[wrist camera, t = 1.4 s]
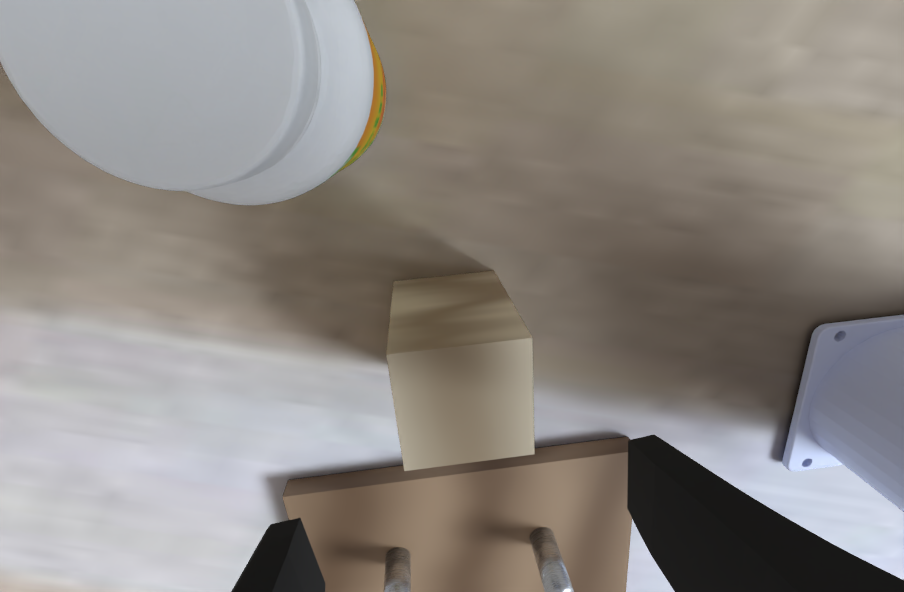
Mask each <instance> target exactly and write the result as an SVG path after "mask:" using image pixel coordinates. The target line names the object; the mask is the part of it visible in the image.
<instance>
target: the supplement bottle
mask: <svg viewBox="0 0 904 592" xmlns="http://www.w3.org/2000/svg"><path fill="white" fill-rule="evenodd" d="M0 62H1V64H2V66H3V69H4V70H5V72H6V74H7V76H8V78H9V80H10V81H11V83H12V85H13V86H14V88H15V90H16V91H17V93H18V95H19V96H20V98H21V99H22V100H23V101H24V103H25V104H26V105H27V106H28V108H29V109H30V110H31V111H32V113H33V114H34V115H35V116H36V118H37V119H38V120H39V121H40V122H41V123H42V124H43V125H44V126H45V127H46V128H47V129H48V130H49V131H50V133H51V134H52V135H54V136H55V137H56V138H57V139H58V140H59V141H60V142H62V143H63V144H64V145H65V146H67V147H68V148H69V149H70V150H72V151H73V152H74V153H76V154H77V155H78V156H80V157H81V158H82V159H84V160H85V161H87V162H89V163H91V164H93V165H94V166H96V167H97V168H99V169H101V170H103V171H105V172H107V173H109V174H111V175H114V176H116V177H118V178H121V179H123V180H126V181H128V182H132V183H135V184H139V185H142V186H146V187H150V188H156V189H162V190H170V191H186V192H189V193H191V194H194V195H197V196H200V197H203V198H206V199H209V200H214V201H218V202H223V203H229V204H235V205H263V204H271V203H276V202H280V201H284V200H288V199H291V198H294V197H297V196H299V195H302V194H304V193H306V192H308V191H310V190H312V189H313V188H315V187H317V186H319V185H320V184H322V183H324V182H325V181H326V180H328V179H329V178H330V177H332V176H333V175H335V174H336V173H338V172H339V171H341V170H342V169H344V168H345V167H347V166H348V165H350V164H352V163H353V162H354V161H356V160H357V159H358V158H359V157H360V156H361V155H362V154H363V153H364V152H365V151H366V150H367V149H368V148H369V146H370V145H371V144H372V142H373V141H374V139H375V137H376V136H377V134H378V132H379V130H380V127H381V124H382V122H383V118H384V114H385V108H386V82H385V76H384V71H383V67H382V64H381V61H380V58H379V55H378V53H377V51H376V48H375V46H374V44H373V42H372V40H371V38H370V35H369V33H368V31H367V29H366V26H365V24H364V21H363V19H362V17H361V14H360V12H359V10H358V7H357V5H356V3H355V2H354V0H0Z"/></svg>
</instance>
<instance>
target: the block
mask: <svg viewBox="0 0 904 592" xmlns="http://www.w3.org/2000/svg"><path fill="white" fill-rule="evenodd" d="M386 357H387V363H388V369H389V376H390V382H391V389H392V395H393V402H394V408H395V414H396V421H397V427H398V434H399V440H400V447H401V453H402V460H403V466H404V471H410V470H417V469H425V468H433V467H440V466H448V465H456V464H464V463H471V462H479V461H487V460H494V459H502V458H510V457H517V456H525V455H533V454H535V448H534V395H533V343H532V336H531V334H530V333H529V331H528V329H527V327H526V326H525V324H524V322H523V320H522V319H521V317H520V315H519V313H518V312H517V310H516V308H515V306H514V305H513V303H512V301H511V299H510V298H509V296H508V294H507V292H506V291H505V289H504V287H503V285H502V284H501V282H500V280H499V278H498V276H497V275H496V273H495V271H485V272H475V273H466V274H457V275H447V276H438V277H429V278H419V279H410V280H401V281H393V291H392V301H391V311H390V321H389V332H388V342H387V352H386Z"/></svg>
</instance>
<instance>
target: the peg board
mask: <svg viewBox="0 0 904 592" xmlns="http://www.w3.org/2000/svg"><path fill="white" fill-rule="evenodd" d="M629 440H630V439H629V437H620V438H613V439H605V440H597V441H589V442H581V443H574V444H566V445H558V446H550V447H542V448H535V454H533V455H525V456H517V457H510V458H502V459H494V460H487V461H479V462H471V463H464V464H456V465H448V466H440V467H433V468H425V469H417V470H410V471H404V466H403V465H402V466H394V467H387V468H379V469H371V470H363V471H355V472H348V473H340V474H332V475H324V476H317V477H309V478H301V479H293V480H288V482H287V485H286V488H285V491H284V494H283V501H284V504H285V508H286V511H287V515H288V518H289V520H292V519H296V518H301V521H302V523H303V526H304V528H305V531H306V534H307V536H308V539H309V542H310V544H311V547H312V549H313V552H314V555H315V557H316V560H317V562H318V565H319V568H320V570H321V573H322V576H323V578H324V581H325V592H626V582H627V570H628V559H629V547H630V535H631V524H632V517H631V515H630V513H629V511H628V509H627V489H628V441H629Z"/></svg>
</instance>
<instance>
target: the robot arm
mask: <svg viewBox="0 0 904 592" xmlns="http://www.w3.org/2000/svg"><path fill="white" fill-rule="evenodd" d="M836 333H837V334H836ZM782 463H783V465H784V466H785V467H786V468H787V469H788V470H790V471H801V470H809V469H816V468H823V467H831V466H838V465H845V466H846V467H847V468H849V469H850V470H851V471H852V472H854V473H855V474H856V475H858V476H859V477H860V478H861V479H863V480H864V481H865V482H866V483H868V484H869V485H870V486H871V487H873V488H874V489H875V490H877V491H878V492H879V493H880V494H882V495H883V496H884V497H885V498H887V499H888V500H889V501H891V502H892V503H893V504H894V505H896V506H897V507H898V508H899V509H901V510H902V511H903V512H904V315H896V316H887V317H879V318H870V319H862V320H853V321H845V322H836V323H828V324H823V325H820V326H818V327H817V328H816V329H815V330H814V331H813V333H812V337H811V341H810V345H809V349H808V354H807V358H806V362H805V366H804V371H803V375H802V379H801V384H800V388H799V392H798V396H797V401H796V405H795V409H794V413H793V418H792V422H791V426H790V430H789V435H788V439H787V443H786V447H785V452H784V456H783V460H782ZM627 509H628V511H629V513H630V515H631V517H632V519H633V521H634V523H635V525H636V527H637V529H638V531H639V533H640V535H641V536H642V538H643V540H644V542H645V544H646V546H647V548H648V550H649V552H650V553H651V555H652V557H653V558H654V560H655V562H656V563H657V565H658V566H659V568H660V569H661V571H662V572H663V574H664V575H665V577H666V579H667V580H668V582H669V583H670V585H671V586H672V588H673V589H674V591H675V592H904V580H902V579H900V578H898V577H896V576H894V575H892V574H890V573H888V572H886V571H884V570H882V569H880V568H878V567H876V566H874V565H872V564H870V563H868V562H866V561H864V560H862V559H860V558H858V557H856V556H854V555H852V554H850V553H848V552H846V551H845V550H843V549H841V548H839V547H837V546H835V545H833V544H831V543H830V542H828V541H826V540H824V539H822V538H821V537H819V536H817V535H815V534H813V533H812V532H810V531H808V530H806V529H805V528H803V527H801V526H799V525H798V524H796V523H794V522H792V521H790V520H789V519H787V518H785V517H784V516H782V515H780V514H778V513H777V512H775V511H773V510H772V509H770V508H768V507H767V506H765V505H763V504H762V503H760V502H758V501H757V500H755V499H754V498H752V497H750V496H749V495H747V494H745V493H744V492H742V491H741V490H739V489H737V488H736V487H734V486H733V485H731V484H729V483H728V482H726V481H725V480H723V479H722V478H720V477H718V476H717V475H715V474H714V473H712V472H711V471H709V470H708V469H706V468H705V467H703V466H702V465H700V464H698V463H697V462H695V461H694V460H692V459H691V458H689V457H688V456H686V455H685V454H683V453H682V452H680V451H679V450H677V449H676V448H674V447H673V446H671V445H669V444H668V443H666V442H665V441H663V440H662V439H660V438H659V437H657V436H655V435H650V436H646V437H642V438H637V439H633V440H629V441H628V489H627ZM231 592H325V581H324V578H323V576H322V573H321V570H320V568H319V565H318V562H317V560H316V557H315V555H314V552H313V549H312V547H311V544H310V542H309V539H308V536H307V534H306V531H305V528H304V526H303V523H302V521H301V518H296V519H292V520H288V521H284V522H279V523H275V524H271V525H270V526H269V527H268V529H267V530H266V532H265V534H264V536H263V537H262V539H261V541H260V543H259V544H258V546H257V548H256V550H255V551H254V553H253V555H252V557H251V558H250V560H249V562H248V564H247V565H246V567H245V569H244V571H243V572H242V574H241V576H240V578H239V579H238V581H237V583H236V584H235V586H234V588H233V590H232V591H231Z"/></svg>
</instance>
